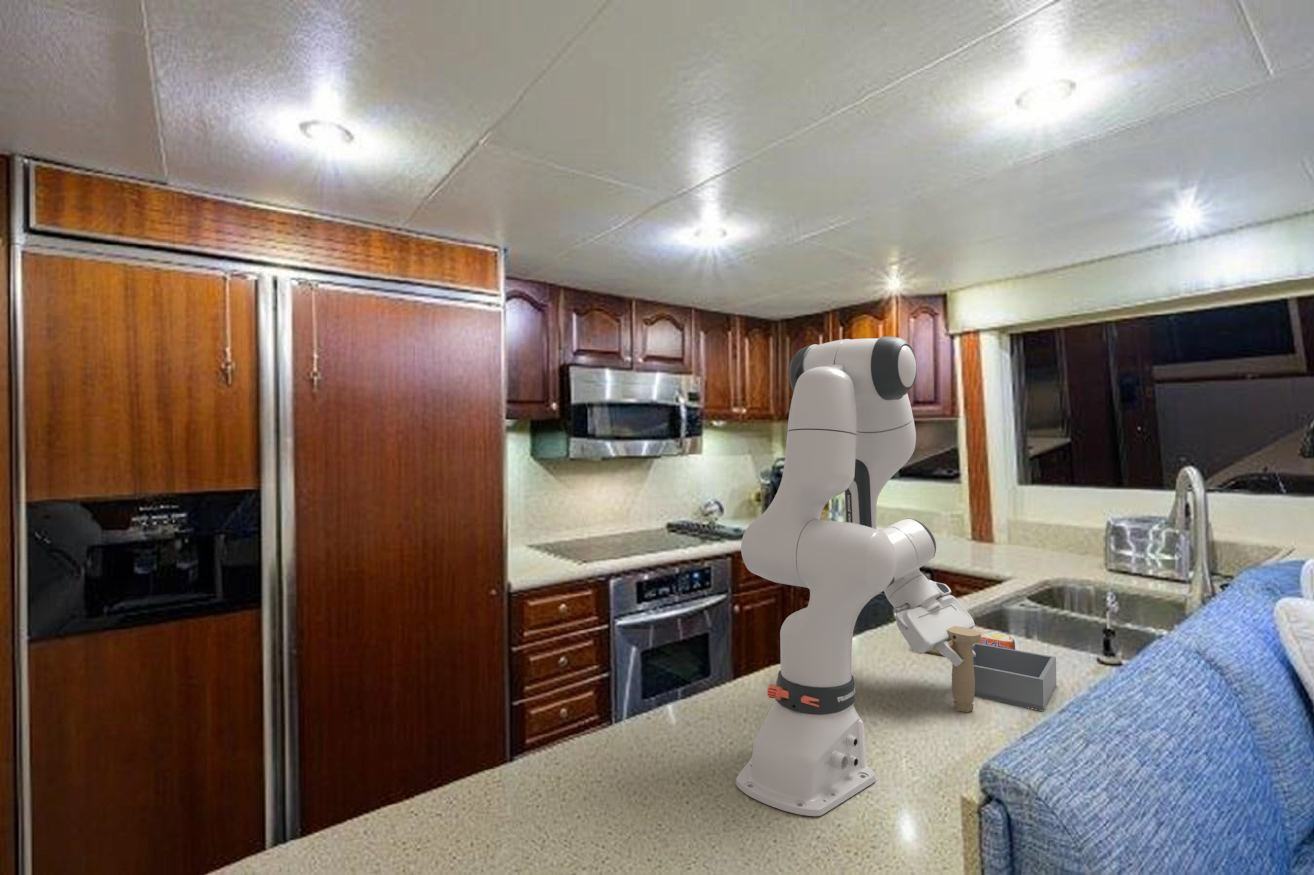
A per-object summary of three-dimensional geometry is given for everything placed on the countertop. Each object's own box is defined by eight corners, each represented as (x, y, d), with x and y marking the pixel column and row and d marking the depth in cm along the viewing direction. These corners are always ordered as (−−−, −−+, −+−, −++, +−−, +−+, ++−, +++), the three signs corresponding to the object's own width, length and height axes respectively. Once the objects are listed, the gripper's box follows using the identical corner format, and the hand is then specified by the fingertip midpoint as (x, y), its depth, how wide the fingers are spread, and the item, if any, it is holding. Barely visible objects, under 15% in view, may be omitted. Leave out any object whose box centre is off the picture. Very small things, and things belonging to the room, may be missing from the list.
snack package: (1016, 661, 150) (1015, 632, 150) (1013, 670, 144) (1013, 639, 144) (919, 645, 162) (919, 618, 162) (913, 653, 156) (912, 625, 156)
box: (1043, 711, 122) (1042, 679, 122) (952, 691, 132) (952, 662, 132) (1056, 685, 134) (1056, 657, 134) (972, 669, 144) (972, 642, 144)
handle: (956, 700, 127) (955, 624, 127) (987, 712, 121) (986, 633, 121) (940, 706, 125) (939, 628, 125) (970, 718, 119) (969, 637, 119)
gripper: (900, 599, 122) (952, 665, 114) (950, 583, 135) (1000, 640, 128) (878, 618, 125) (928, 683, 118) (929, 600, 138) (977, 657, 131)
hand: (966, 661), depth 123 cm, fingers closed on handle, 3 cm apart
